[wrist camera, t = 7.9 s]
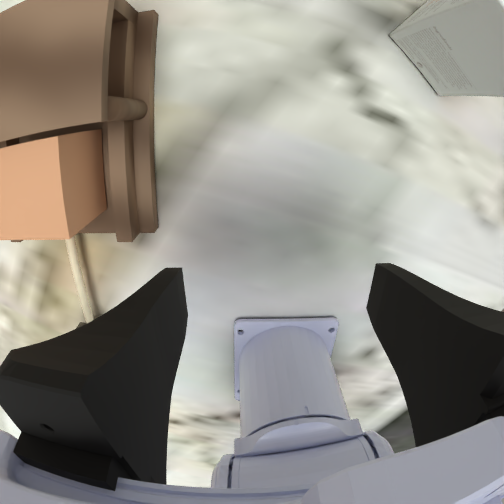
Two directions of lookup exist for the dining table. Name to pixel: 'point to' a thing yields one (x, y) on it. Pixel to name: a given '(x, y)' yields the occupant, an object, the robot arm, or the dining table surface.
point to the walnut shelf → (86, 94)
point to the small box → (457, 45)
